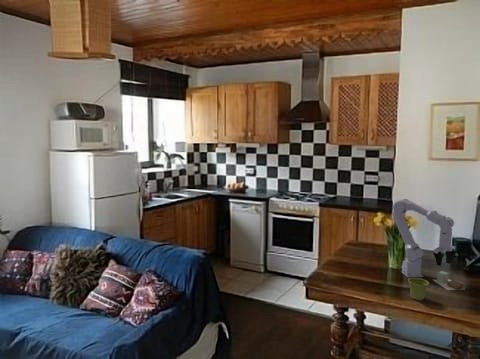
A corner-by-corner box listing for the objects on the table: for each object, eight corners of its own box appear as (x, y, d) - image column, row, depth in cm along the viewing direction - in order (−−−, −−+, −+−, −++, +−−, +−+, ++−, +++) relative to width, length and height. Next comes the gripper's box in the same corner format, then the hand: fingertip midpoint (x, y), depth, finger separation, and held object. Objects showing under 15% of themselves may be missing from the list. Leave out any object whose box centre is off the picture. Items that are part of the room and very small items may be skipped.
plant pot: (422, 294, 202) (423, 277, 201) (431, 302, 193) (432, 284, 192) (403, 294, 202) (404, 277, 201) (412, 302, 193) (413, 285, 192)
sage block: (443, 283, 214) (443, 274, 214) (436, 280, 218) (437, 272, 217) (448, 282, 216) (448, 273, 216) (441, 279, 220) (442, 271, 219)
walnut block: (457, 289, 206) (457, 285, 206) (447, 285, 211) (447, 281, 211) (465, 288, 208) (465, 283, 208) (454, 283, 214) (455, 279, 214)
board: (447, 291, 206) (447, 289, 206) (432, 280, 220) (432, 279, 220) (465, 290, 207) (465, 289, 207) (449, 280, 221) (449, 279, 221)
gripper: (442, 243, 208) (440, 268, 209) (461, 240, 214) (459, 264, 215) (431, 240, 214) (429, 264, 216) (449, 237, 220) (447, 260, 222)
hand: (443, 264), depth 216 cm, fingers open, 7 cm apart
